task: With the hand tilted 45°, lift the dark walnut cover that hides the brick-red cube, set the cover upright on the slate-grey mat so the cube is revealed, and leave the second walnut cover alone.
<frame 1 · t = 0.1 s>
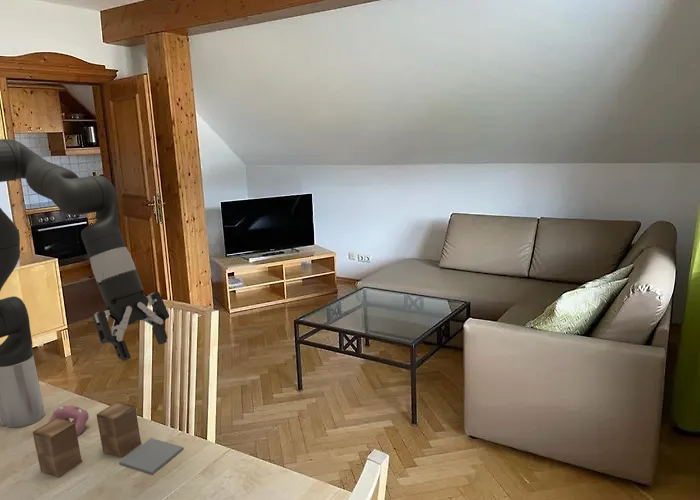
hand: (145, 351, 109), 31 cm above the table, tool tilted 20°, fingers open, 8 cm apart
slate mat: (152, 456, 128), on the table
red cube: (122, 448, 132), on the table
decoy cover: (61, 466, 125), on the table
walnut cover: (122, 447, 131), on the table
video game controller: (69, 430, 140), on the table
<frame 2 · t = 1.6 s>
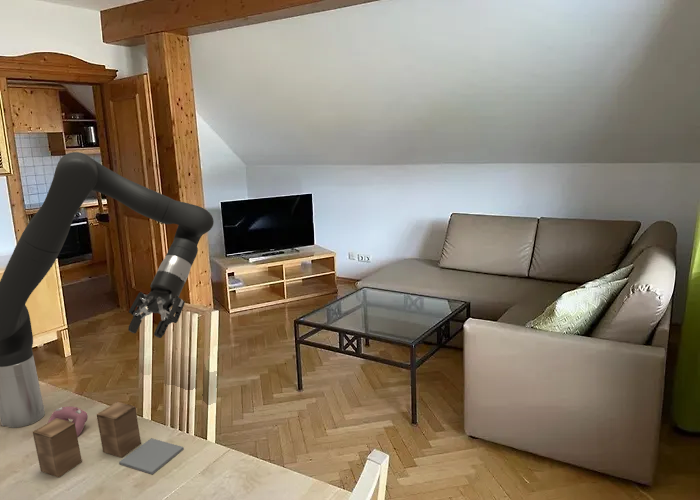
hand: (144, 334, 135), 25 cm above the table, tool tilted 45°, fingers open, 8 cm apart
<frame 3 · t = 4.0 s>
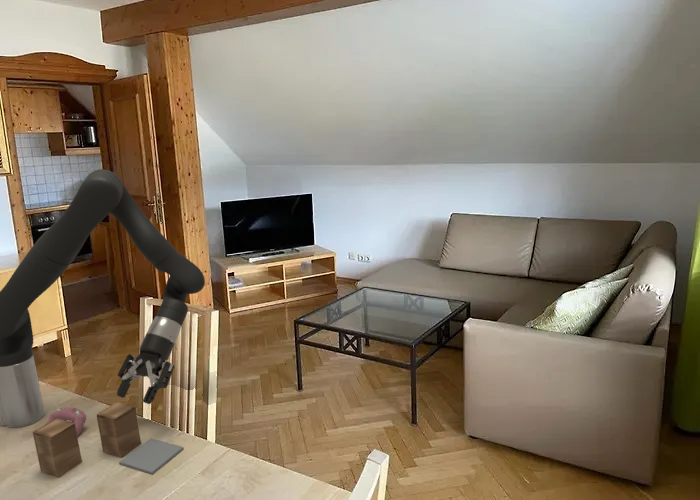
hand: (133, 399, 134), 10 cm above the table, tool tilted 45°, fingers open, 8 cm apart
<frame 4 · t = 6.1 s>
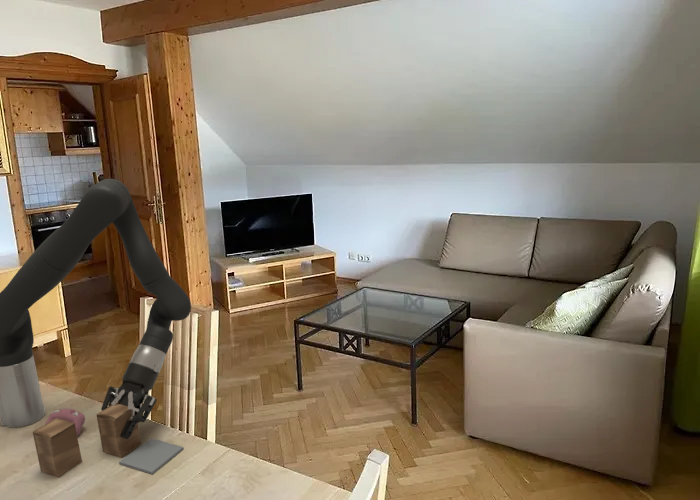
hand: (113, 434, 129), 5 cm above the table, tool tilted 45°, fingers closed on walnut cover, 6 cm apart
walnut cover: (122, 447, 131), on the table, touching gripper
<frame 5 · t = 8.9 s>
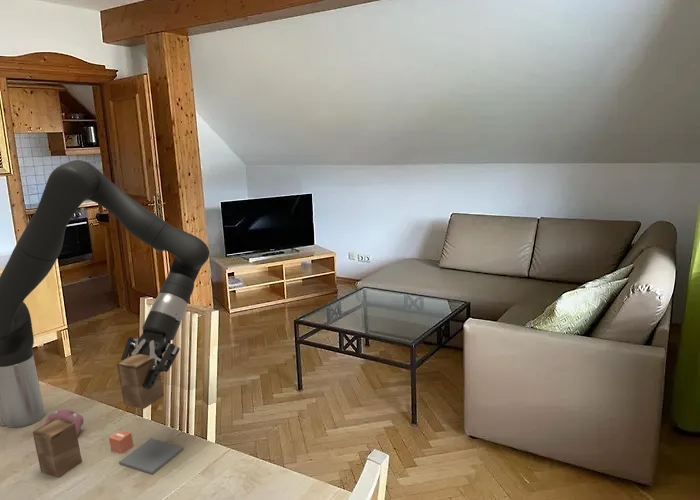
hand: (135, 385, 122), 19 cm above the table, tool tilted 45°, fingers closed on walnut cover, 6 cm apart
walnut cover: (144, 400, 124), point 14 cm above the table, touching gripper
when the fingers open (6 cm above the table, at t = 11.7 s): walnut cover drops 1 cm, resting on slate mat.
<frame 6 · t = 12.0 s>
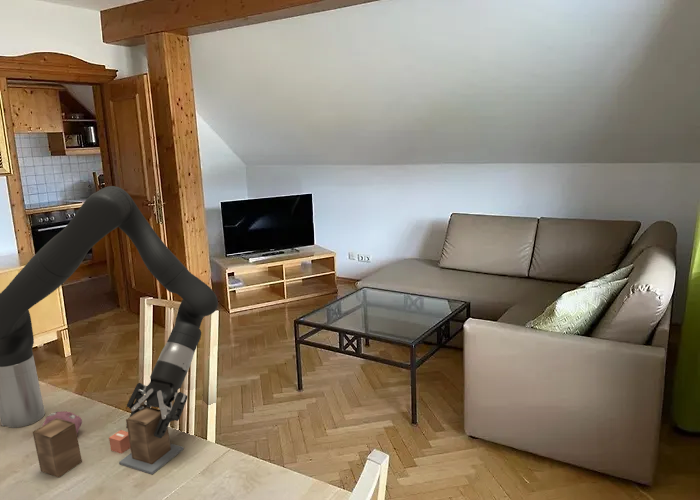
hand: (143, 433, 125), 7 cm above the table, tool tilted 45°, fingers open, 8 cm apart
walnut cover: (151, 453, 127), point 1 cm above the table, touching slate mat
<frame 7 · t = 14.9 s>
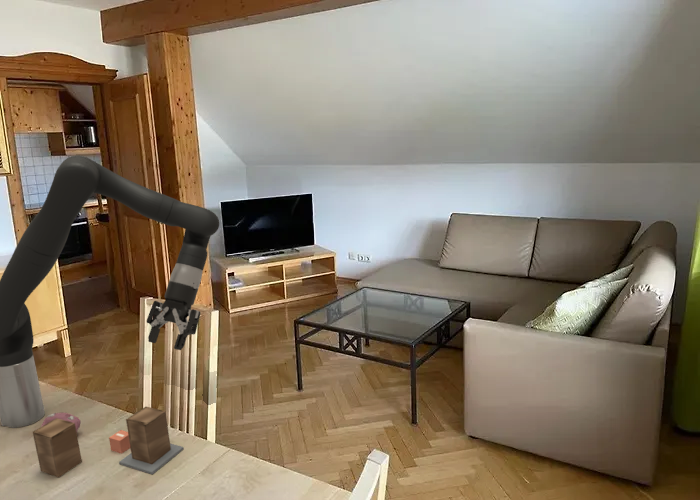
hand: (164, 346, 138), 20 cm above the table, tool tilted 30°, fingers open, 8 cm apart
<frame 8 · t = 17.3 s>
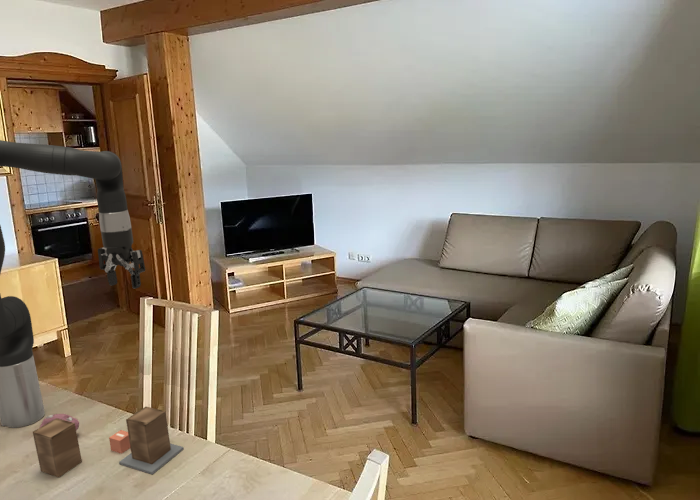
hand: (124, 286, 149), 32 cm above the table, tool pointing down, fingers open, 8 cm apart
at the end: walnut cover inside the target area on the slate mat (0.1 cm from its centre), point 0.6 cm above the slate mat's base; walnut cover tilted 0°; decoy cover moved 0.0 cm from its start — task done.
